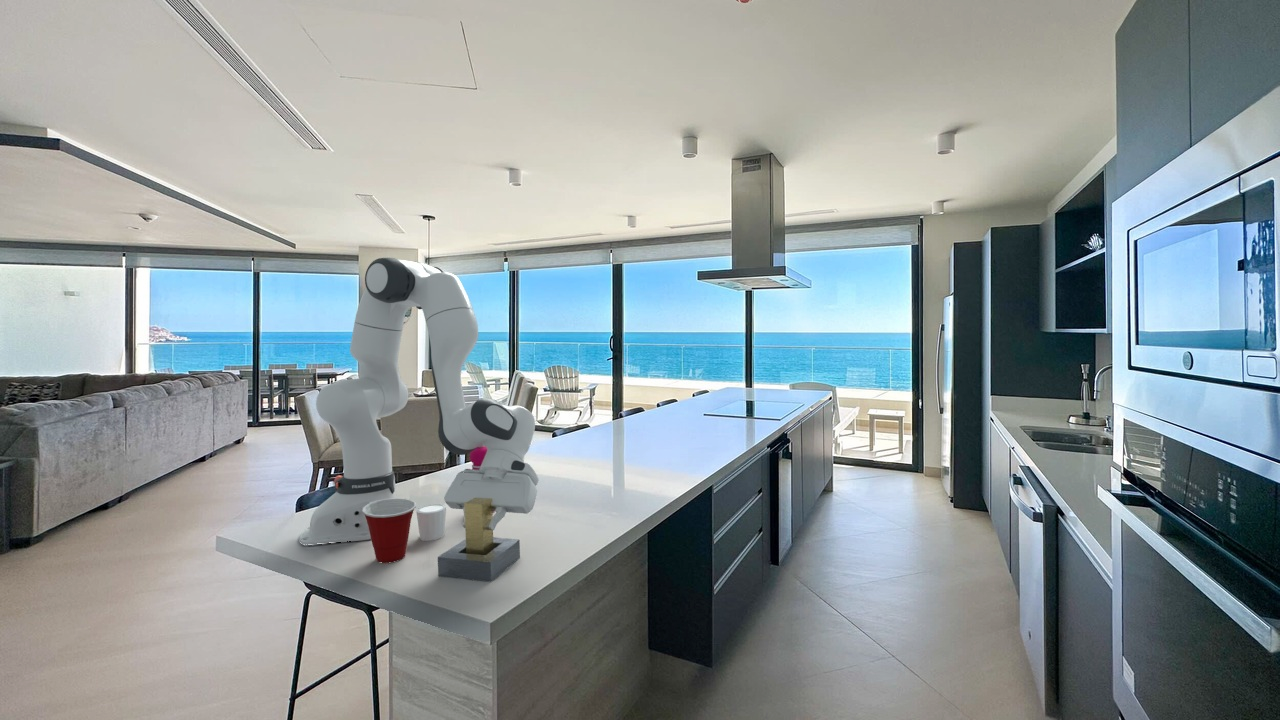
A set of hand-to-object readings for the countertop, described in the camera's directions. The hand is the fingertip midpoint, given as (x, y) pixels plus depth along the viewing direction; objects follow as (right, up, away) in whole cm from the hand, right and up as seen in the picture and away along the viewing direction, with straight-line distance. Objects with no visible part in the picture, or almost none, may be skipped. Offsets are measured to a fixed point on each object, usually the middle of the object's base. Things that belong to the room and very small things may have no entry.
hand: (477, 528), depth 109 cm
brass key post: (0, -6, +1) cm, 6 cm away
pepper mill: (-10, -8, +37) cm, 39 cm away
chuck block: (0, -8, +1) cm, 8 cm away
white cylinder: (-17, -8, +19) cm, 27 cm away
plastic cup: (-21, -9, +6) cm, 24 cm away
